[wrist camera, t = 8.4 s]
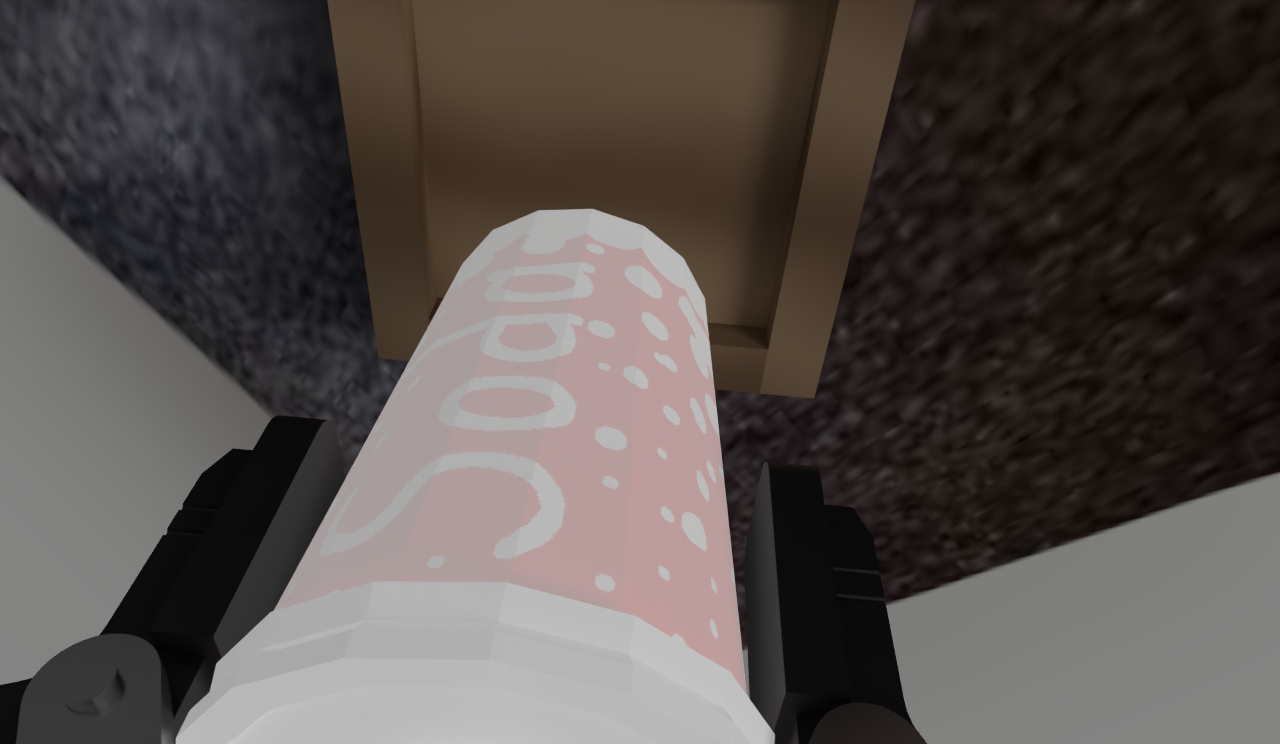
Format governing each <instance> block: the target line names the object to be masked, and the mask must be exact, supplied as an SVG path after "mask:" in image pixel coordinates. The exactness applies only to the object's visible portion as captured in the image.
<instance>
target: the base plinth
mask: <svg viewBox="0 0 1280 744" xmlns="http://www.w3.org/2000/svg"><path fill="white" fill-rule="evenodd" d="M327 2H328V9H329V16H330V23H331V30H332V37H333V44H334V51H335V58H336V65H337V72H338V79H339V86H340V93H341V100H342V107H343V114H344V121H345V128H346V135H347V142H348V149H349V156H350V163H351V170H352V177H353V184H354V191H355V198H356V205H357V212H358V219H359V226H360V233H361V240H362V247H363V254H364V261H365V268H366V275H367V282H368V289H369V296H370V303H371V310H372V317H373V324H374V331H375V338H376V345H377V352H378V358H383V359H393V360H404V361H410V359H411V357H412V356H413V354H414V352H415V350H416V348H417V346H418V345H419V343H420V341H421V339H422V337H423V335H424V334H425V332H426V330H427V328H428V326H429V324H430V323H431V321H432V319H433V317H434V315H435V313H436V312H437V310H438V308H439V306H440V304H441V302H442V300H443V299H444V297H445V295H446V293H447V291H448V289H449V288H450V286H451V284H452V282H453V280H454V278H455V277H456V275H457V273H458V271H459V269H460V267H461V266H462V264H463V263H464V261H465V260H466V259H467V258H468V257H469V256H470V255H471V254H472V252H473V251H474V250H475V249H476V248H477V247H478V246H479V245H480V244H481V242H482V241H483V240H484V239H485V238H486V237H487V236H488V235H489V234H490V232H491V231H492V230H494V229H496V228H499V227H501V226H503V225H506V224H508V223H510V222H513V221H515V220H517V219H520V218H522V217H524V216H527V215H529V214H531V213H534V212H536V211H538V210H569V209H595V210H598V211H601V212H604V213H607V214H610V215H613V216H616V217H619V218H622V219H625V220H628V221H631V222H634V223H637V224H640V225H643V226H645V227H646V228H647V229H648V230H650V231H651V232H652V233H653V234H655V235H656V236H657V237H658V238H659V239H661V240H662V241H663V242H664V243H666V244H667V245H668V246H669V247H671V248H672V249H673V250H674V251H675V252H677V253H678V254H679V255H680V256H682V257H683V258H684V260H685V262H686V264H687V265H688V267H689V269H690V271H691V273H692V275H693V277H694V279H695V281H696V283H697V285H698V287H699V288H700V290H701V292H702V294H703V296H704V298H705V305H706V314H707V324H708V333H709V343H710V352H711V361H712V371H713V380H714V389H718V390H728V391H739V392H750V393H761V394H772V395H782V396H793V397H804V398H814V397H815V393H816V389H817V385H818V381H819V377H820V373H821V369H822V365H823V361H824V357H825V353H826V349H827V346H828V342H829V338H830V334H831V330H832V326H833V322H834V318H835V314H836V310H837V306H838V302H839V298H840V294H841V290H842V286H843V282H844V279H845V275H846V271H847V267H848V263H849V259H850V255H851V251H852V247H853V243H854V239H855V235H856V231H857V227H858V223H859V219H860V216H861V212H862V208H863V204H864V200H865V196H866V192H867V188H868V184H869V180H870V176H871V172H872V168H873V164H874V160H875V156H876V153H877V149H878V145H879V141H880V137H881V133H882V129H883V125H884V121H885V117H886V113H887V109H888V105H889V101H890V97H891V93H892V90H893V86H894V82H895V78H896V74H897V70H898V66H899V62H900V58H901V54H902V50H903V46H904V42H905V38H906V34H907V30H908V27H909V23H910V19H911V15H912V11H913V7H914V3H915V0H327Z"/></svg>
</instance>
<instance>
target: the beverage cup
mask: <svg viewBox="0 0 1280 744" xmlns="http://www.w3.org/2000/svg"><path fill="white" fill-rule="evenodd" d="M774 742H775V734H774V732H773V731H772V730H771V728H770V727H769V725H768V724H767V723H766V721H765V720H764V718H763V717H762V716H761V714H760V713H759V711H758V710H757V709H756V707H755V706H754V704H753V703H752V702H751V700H750V699H749V698H748V696H747V692H746V682H745V673H744V663H743V654H742V644H741V635H740V626H739V616H738V607H737V597H736V588H735V578H734V569H733V560H732V550H731V541H730V531H729V522H728V512H727V503H726V494H725V484H724V475H723V465H722V456H721V446H720V437H719V427H718V418H717V409H716V399H715V390H714V380H713V371H712V361H711V352H710V343H709V333H708V324H707V314H706V305H705V298H704V296H703V294H702V292H701V290H700V288H699V287H698V285H697V283H696V281H695V279H694V277H693V275H692V273H691V271H690V269H689V267H688V265H687V264H686V262H685V260H684V258H683V257H682V256H680V255H679V254H678V253H677V252H675V251H674V250H673V249H672V248H671V247H669V246H668V245H667V244H666V243H664V242H663V241H662V240H661V239H659V238H658V237H657V236H656V235H655V234H653V233H652V232H651V231H650V230H648V229H647V228H646V227H645V226H643V225H640V224H637V223H634V222H631V221H628V220H625V219H622V218H619V217H616V216H613V215H610V214H607V213H604V212H601V211H598V210H595V209H569V210H538V211H536V212H534V213H531V214H529V215H527V216H524V217H522V218H520V219H517V220H515V221H513V222H510V223H508V224H506V225H503V226H501V227H499V228H496V229H494V230H492V231H491V232H490V234H489V235H488V236H487V237H486V238H485V239H484V240H483V241H482V242H481V244H480V245H479V246H478V247H477V248H476V249H475V250H474V251H473V252H472V254H471V255H470V256H469V257H468V258H467V259H466V260H465V261H464V263H463V264H462V266H461V267H460V269H459V271H458V273H457V275H456V277H455V278H454V280H453V282H452V284H451V286H450V288H449V289H448V291H447V293H446V295H445V297H444V299H443V300H442V302H441V304H440V306H439V308H438V310H437V312H436V313H435V315H434V317H433V319H432V321H431V323H430V324H429V326H428V328H427V330H426V332H425V334H424V335H423V337H422V339H421V341H420V343H419V345H418V346H417V348H416V350H415V352H414V354H413V356H412V357H411V359H410V361H409V363H408V365H407V367H406V368H405V370H404V372H403V374H402V376H401V378H400V380H399V381H398V383H397V385H396V387H395V389H394V391H393V392H392V394H391V396H390V398H389V400H388V402H387V403H386V405H385V407H384V409H383V411H382V413H381V414H380V416H379V418H378V420H377V422H376V424H375V425H374V427H373V429H372V431H371V433H370V435H369V436H368V438H367V440H366V442H365V444H364V446H363V448H362V449H361V451H360V453H359V455H358V457H357V459H356V460H355V462H354V464H353V466H352V468H351V470H350V471H349V473H348V475H347V477H346V479H345V481H344V482H343V484H342V486H341V488H340V490H339V492H338V493H337V495H336V497H335V499H334V501H333V503H332V504H331V506H330V508H329V510H328V512H327V514H326V516H325V517H324V519H323V521H322V523H321V525H320V527H319V528H318V530H317V532H316V534H315V536H314V538H313V539H312V541H311V543H310V545H309V547H308V549H307V550H306V552H305V554H304V556H303V558H302V560H301V561H300V563H299V565H298V567H297V569H296V571H295V572H294V574H293V576H292V578H291V580H290V582H289V584H288V585H287V587H286V589H285V591H284V593H283V595H282V596H281V598H280V600H279V602H278V604H277V606H276V607H275V609H274V611H272V612H270V613H269V614H268V615H267V616H266V617H265V618H264V619H263V620H262V621H261V622H260V623H259V624H257V625H256V626H255V627H254V628H253V629H252V630H251V631H250V632H249V633H248V634H247V635H246V636H245V637H244V638H243V639H242V640H241V641H240V642H238V643H237V644H236V645H235V646H234V647H233V648H232V649H231V650H230V651H229V652H228V653H227V654H226V655H225V656H224V657H223V658H222V659H221V660H219V661H218V662H217V663H216V667H215V671H214V676H213V680H212V684H211V688H210V692H209V693H208V694H207V695H206V696H205V697H204V698H203V699H201V700H200V701H199V702H198V703H197V704H196V705H195V706H194V707H193V708H192V709H191V710H190V711H189V713H188V715H187V717H186V719H185V721H184V723H183V725H182V727H181V729H180V731H179V733H178V735H177V737H176V744H774Z"/></svg>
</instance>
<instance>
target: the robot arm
mask: <svg viewBox="0 0 1280 744" xmlns="http://www.w3.org/2000/svg"><path fill="white" fill-rule="evenodd" d="M345 479H346V478H345V473H344V468H343V463H342V458H341V453H340V447H339V442H338V437H337V432H336V428H335V425H334V424H333V422H332V421H330V420H322V419H311V418H301V417H290V416H279V415H278V416H275V417H274V418H272V419H271V421H270V422H269V423H268V425H267V427H266V428H265V430H264V432H263V434H262V435H261V437H260V439H259V441H258V442H257V444H256V446H255V447H254V449H253V450H243V449H232V450H231V451H229V452H228V453H227V454H226V455H224V456H223V457H222V458H221V459H220V460H218V461H217V462H216V463H214V464H213V465H212V466H211V467H209V468H208V469H207V470H206V471H204V472H203V473H202V474H201V476H200V477H199V479H198V480H197V482H196V484H195V485H194V487H193V488H192V490H191V492H190V493H189V495H188V497H187V498H186V500H185V501H184V503H183V508H182V510H179V511H178V512H177V514H176V515H175V517H174V519H173V520H172V522H171V523H170V525H169V527H168V528H167V530H168V531H167V534H166V535H163V536H162V538H161V539H160V541H159V543H158V544H157V546H156V547H155V549H154V551H153V552H152V554H151V555H150V557H149V559H148V560H147V562H146V563H145V565H144V566H143V568H142V570H141V571H140V573H139V575H138V576H137V578H136V579H135V581H134V583H133V584H132V586H131V587H130V589H129V590H128V592H127V594H126V595H125V597H124V598H123V600H122V602H121V603H120V605H119V606H118V608H117V610H116V611H115V613H114V614H113V616H112V618H111V619H110V621H109V622H108V624H107V625H106V627H105V628H104V630H103V631H102V632H101V634H100V635H99V636H95V637H92V638H89V639H86V640H83V641H81V642H79V643H77V644H74V645H72V646H70V647H68V648H67V649H65V650H63V651H62V652H60V653H59V654H57V655H56V656H54V657H53V658H52V659H50V660H49V661H48V662H47V663H46V664H45V665H44V666H43V667H42V668H41V669H40V670H39V671H38V672H37V673H36V675H35V676H34V677H33V678H31V679H27V680H23V681H19V682H14V683H9V684H4V685H0V744H176V737H177V735H178V733H179V731H180V729H181V727H182V725H183V723H184V721H185V719H186V717H187V715H188V713H189V711H190V710H191V709H192V708H193V707H194V706H195V705H196V704H197V703H198V702H199V701H200V700H201V699H203V698H204V697H205V696H206V695H207V694H208V693H209V692H210V688H211V684H212V680H213V676H214V671H215V667H216V663H217V662H218V661H219V660H221V659H222V658H223V657H224V656H225V655H226V654H227V653H228V652H229V651H230V650H231V649H232V648H233V647H234V646H235V645H236V644H237V643H238V642H240V641H241V640H242V639H243V638H244V637H245V636H246V635H247V634H248V633H249V632H250V631H251V630H252V629H253V628H254V627H255V626H256V625H257V624H259V623H260V622H261V621H262V620H263V619H264V618H265V617H266V616H267V615H268V614H269V613H270V612H272V611H274V609H275V607H276V606H277V604H278V602H279V600H280V598H281V596H282V595H283V593H284V591H285V589H286V587H287V585H288V584H289V582H290V580H291V578H292V576H293V574H294V572H295V571H296V569H297V567H298V565H299V563H300V561H301V560H302V558H303V556H304V554H305V552H306V550H307V549H308V547H309V545H310V543H311V541H312V539H313V538H314V536H315V534H316V532H317V530H318V528H319V527H320V525H321V523H322V521H323V519H324V517H325V516H326V514H327V512H328V510H329V508H330V506H331V504H332V503H333V501H334V499H335V497H336V495H337V493H338V492H339V490H340V488H341V486H342V484H343V482H344V481H345ZM745 594H746V618H747V642H748V663H749V664H748V667H749V690H750V700H751V702H752V703H753V704H754V706H755V707H756V709H757V710H758V711H759V713H760V714H761V716H762V717H763V718H764V720H765V721H766V723H767V724H768V725H769V727H770V728H771V730H772V731H773V732H774V734H775V742H774V744H927V743H926V742H925V740H924V739H923V738H922V736H921V735H920V734H919V732H918V731H917V730H916V728H915V727H914V725H913V724H912V722H911V719H910V717H909V715H908V713H907V710H906V706H905V702H904V698H903V692H902V687H901V681H900V676H899V671H898V666H897V661H896V655H895V650H894V645H893V640H892V635H891V629H890V624H889V619H888V614H887V608H886V604H884V592H883V587H882V582H881V577H879V566H878V561H877V556H876V550H875V545H874V540H873V537H872V535H871V534H870V532H869V531H868V529H867V528H866V526H865V525H864V523H863V522H862V521H861V519H860V518H859V516H858V515H857V513H856V512H855V510H854V509H853V507H843V506H832V505H824V499H823V492H822V485H821V478H820V472H819V469H818V468H817V467H815V466H804V465H793V464H783V463H772V462H765V463H764V465H763V468H762V472H761V476H760V481H759V485H758V490H757V494H756V499H755V503H754V508H753V513H752V517H751V522H750V526H749V531H748V536H747V543H746V554H745Z"/></svg>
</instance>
